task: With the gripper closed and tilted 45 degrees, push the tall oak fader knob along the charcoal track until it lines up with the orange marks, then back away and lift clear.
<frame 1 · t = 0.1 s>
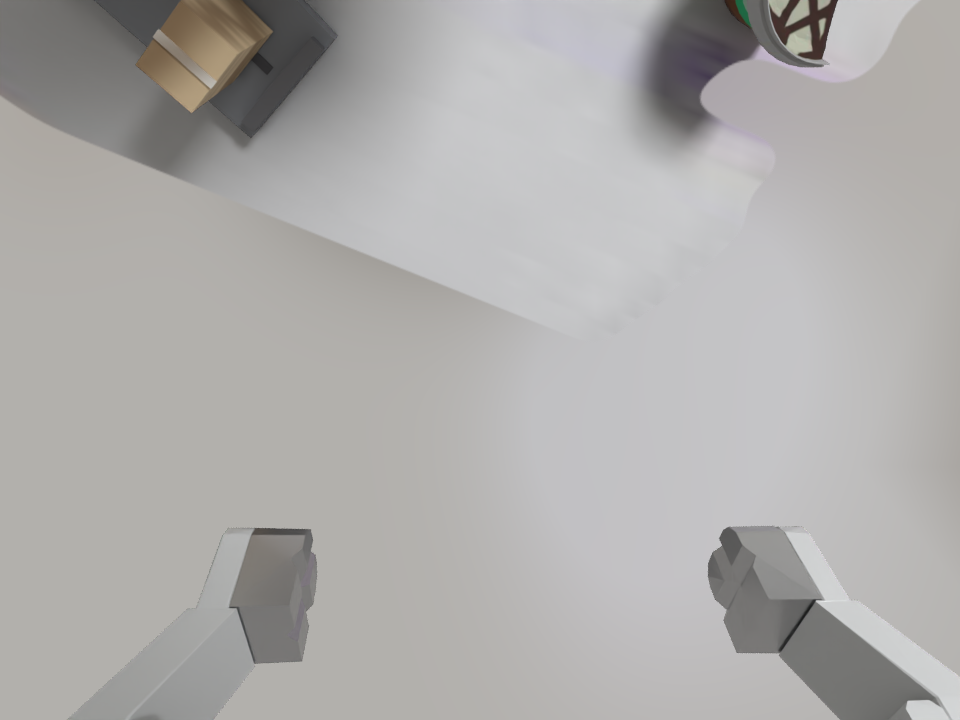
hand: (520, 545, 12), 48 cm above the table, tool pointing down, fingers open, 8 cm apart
fader knob: (210, 46, 42), point 8 cm above the table, slide at 0.0 cm
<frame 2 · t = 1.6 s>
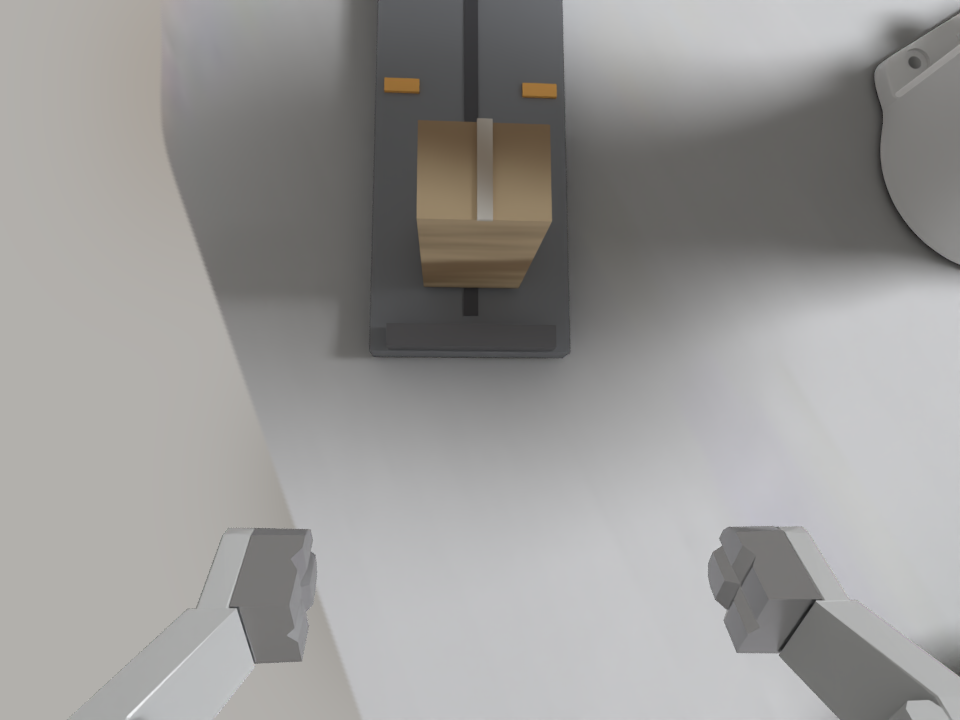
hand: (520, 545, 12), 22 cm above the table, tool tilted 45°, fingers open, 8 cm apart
fader track: (469, 154, 36), on the table
fader knob: (477, 217, 28), point 7 cm above the table, slide at 0.0 cm
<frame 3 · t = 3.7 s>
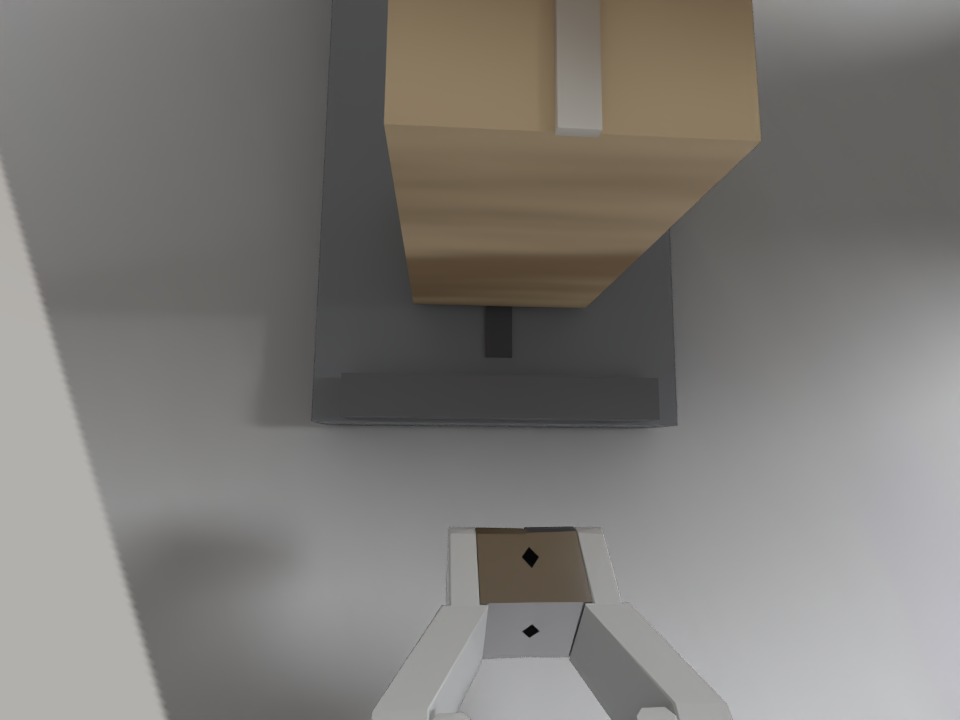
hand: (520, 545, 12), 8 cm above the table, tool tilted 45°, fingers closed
fader track: (494, 79, 22), on the table
fader knob: (524, 164, 13), point 8 cm above the table, slide at 0.0 cm
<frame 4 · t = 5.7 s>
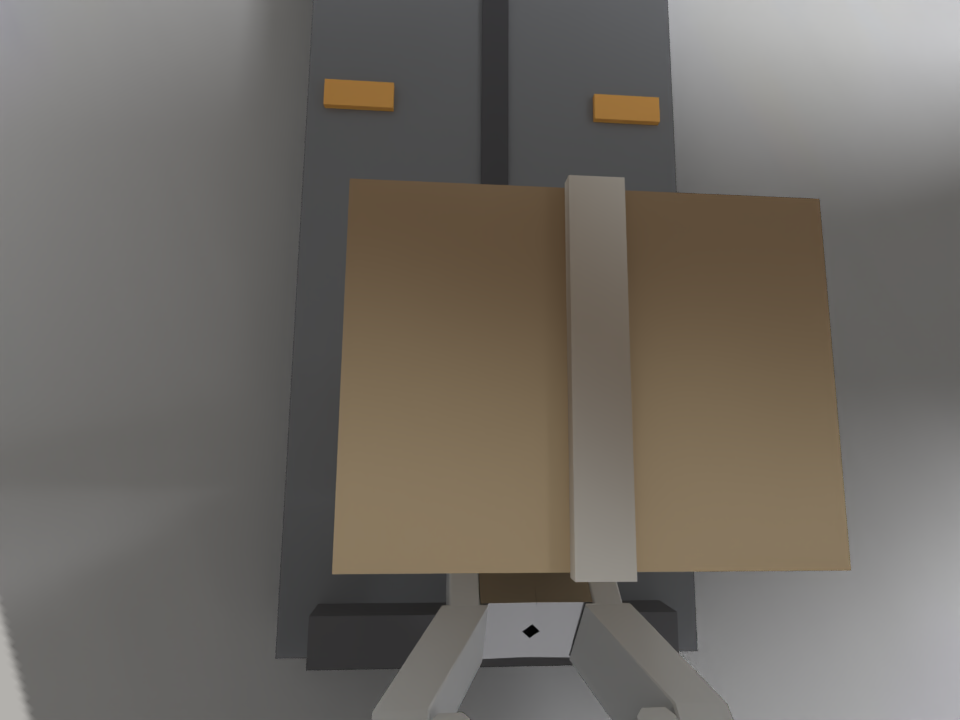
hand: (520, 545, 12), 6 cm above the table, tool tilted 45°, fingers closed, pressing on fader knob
fader track: (487, 224, 19), on the table
fader knob: (523, 407, 11), point 7 cm above the table, slide at 0.5 cm, touching gripper
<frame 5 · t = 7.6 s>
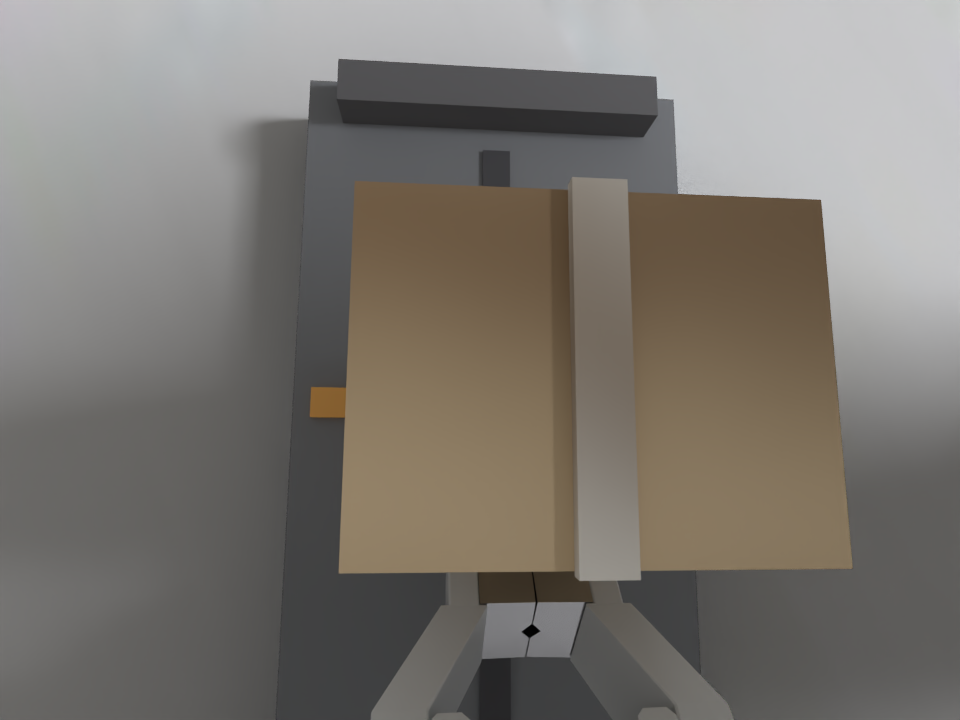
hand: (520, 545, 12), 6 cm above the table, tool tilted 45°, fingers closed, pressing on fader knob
fader track: (488, 509, 18), on the table
fader knob: (526, 406, 11), point 8 cm above the table, slide at 9.5 cm, touching gripper
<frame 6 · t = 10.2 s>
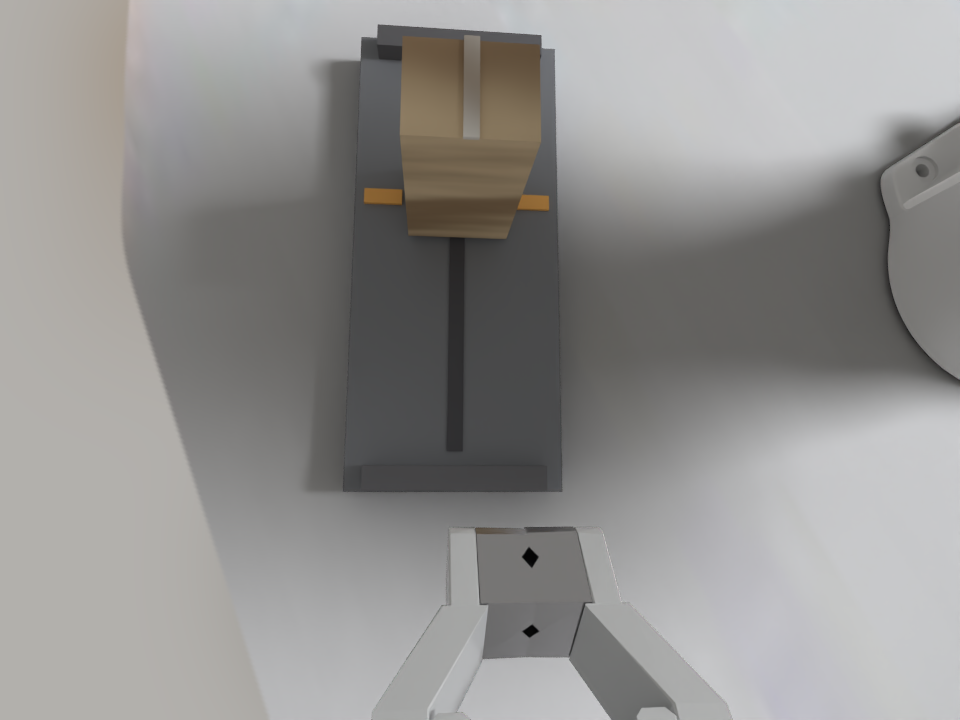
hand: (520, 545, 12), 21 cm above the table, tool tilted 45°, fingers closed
fader track: (455, 265, 34), on the table
fader knob: (463, 154, 27), point 8 cm above the table, slide at 9.7 cm
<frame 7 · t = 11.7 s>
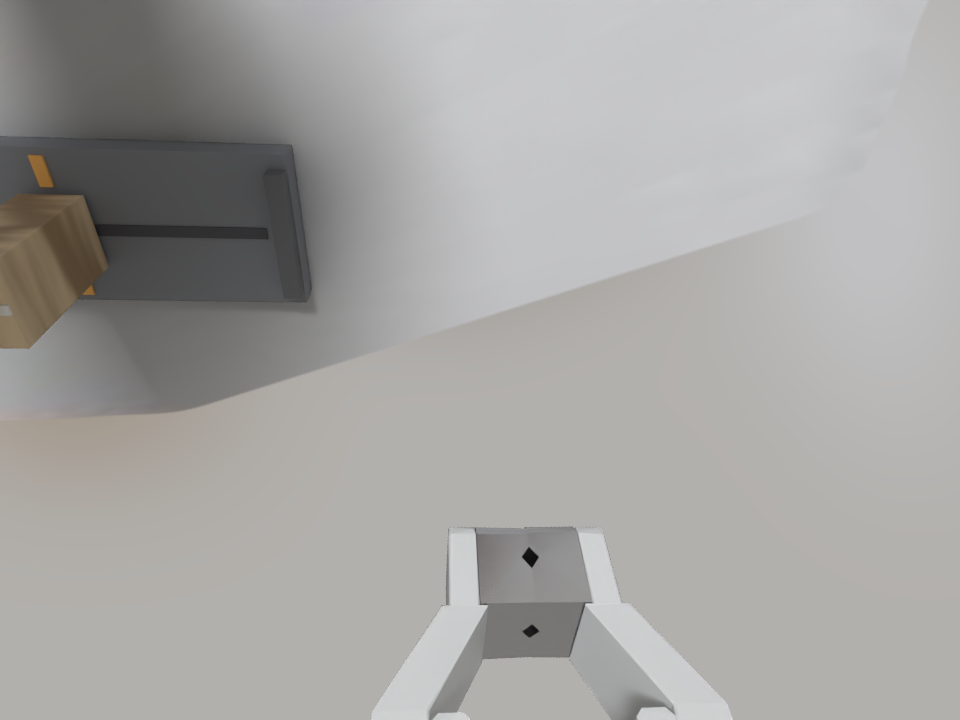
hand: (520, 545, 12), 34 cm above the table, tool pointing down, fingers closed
fader track: (123, 218, 42), on the table
fader knob: (22, 266, 36), point 7 cm above the table, slide at 9.7 cm
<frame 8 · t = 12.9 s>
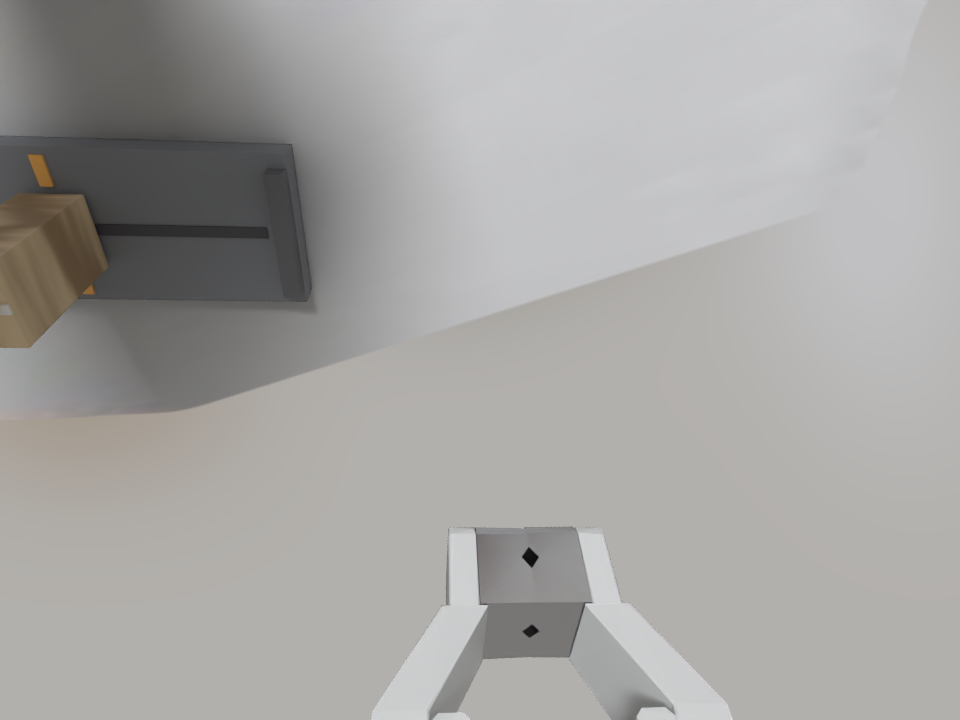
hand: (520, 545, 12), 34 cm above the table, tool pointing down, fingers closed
fader track: (123, 217, 42), on the table
fader knob: (23, 266, 36), point 7 cm above the table, slide at 9.7 cm
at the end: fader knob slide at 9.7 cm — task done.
